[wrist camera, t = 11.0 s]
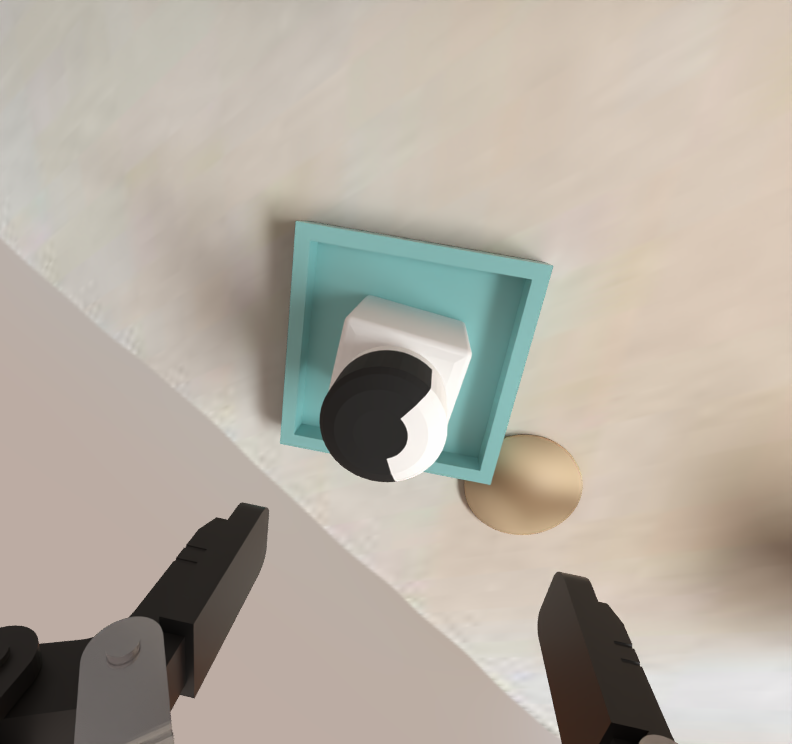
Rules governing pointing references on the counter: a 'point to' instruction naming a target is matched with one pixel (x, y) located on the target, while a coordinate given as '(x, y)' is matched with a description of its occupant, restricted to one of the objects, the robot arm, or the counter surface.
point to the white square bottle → (393, 389)
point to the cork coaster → (527, 487)
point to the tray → (423, 289)
